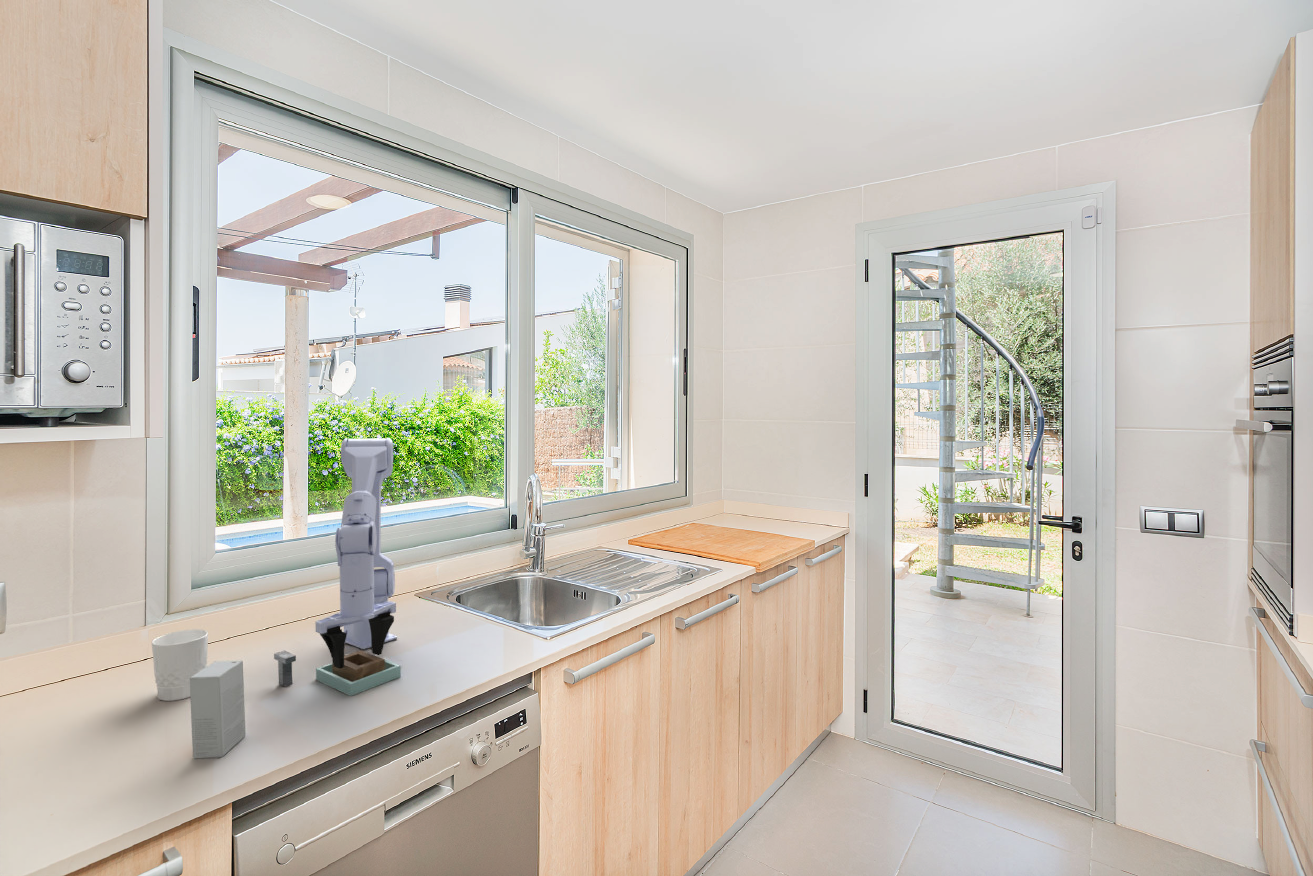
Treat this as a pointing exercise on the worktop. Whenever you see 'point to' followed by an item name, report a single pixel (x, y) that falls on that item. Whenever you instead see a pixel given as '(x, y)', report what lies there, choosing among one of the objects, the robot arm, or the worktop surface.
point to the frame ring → (359, 666)
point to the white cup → (178, 661)
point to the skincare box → (217, 708)
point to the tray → (352, 688)
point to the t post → (285, 667)
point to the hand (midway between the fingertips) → (358, 660)
